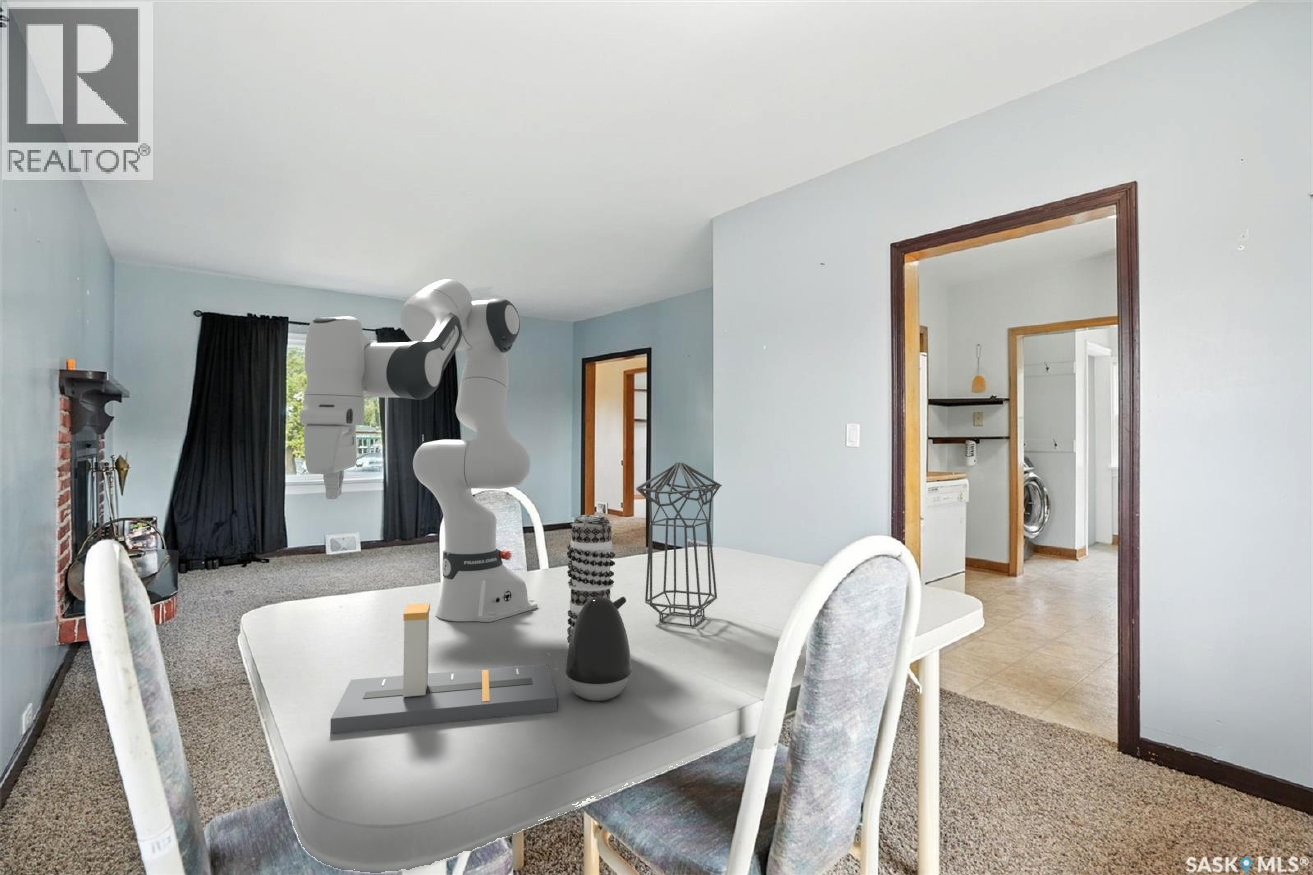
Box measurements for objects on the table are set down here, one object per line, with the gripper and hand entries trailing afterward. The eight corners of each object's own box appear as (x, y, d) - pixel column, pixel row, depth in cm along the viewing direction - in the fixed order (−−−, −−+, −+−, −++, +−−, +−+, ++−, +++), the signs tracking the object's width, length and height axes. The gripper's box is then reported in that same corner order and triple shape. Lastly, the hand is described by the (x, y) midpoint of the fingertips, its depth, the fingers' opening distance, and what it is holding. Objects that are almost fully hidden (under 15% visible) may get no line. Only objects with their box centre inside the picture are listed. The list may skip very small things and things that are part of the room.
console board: (330, 733, 84) (330, 717, 85) (350, 692, 98) (351, 678, 98) (556, 711, 93) (556, 696, 93) (546, 676, 106) (547, 663, 106)
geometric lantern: (701, 635, 130) (699, 464, 130) (633, 625, 137) (631, 463, 136) (727, 615, 144) (725, 461, 144) (664, 607, 151) (662, 460, 151)
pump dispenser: (645, 694, 99) (646, 597, 99) (593, 714, 92) (594, 609, 92) (603, 676, 106) (605, 585, 106) (552, 693, 99) (553, 596, 99)
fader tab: (402, 697, 91) (403, 613, 91) (406, 683, 96) (407, 604, 96) (425, 695, 92) (427, 612, 92) (428, 681, 97) (429, 603, 97)
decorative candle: (555, 646, 121) (557, 515, 121) (592, 636, 127) (595, 512, 127) (585, 659, 114) (587, 520, 114) (623, 647, 121) (625, 516, 121)
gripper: (327, 415, 113) (326, 492, 113) (296, 412, 94) (295, 505, 94) (366, 415, 115) (365, 492, 115) (343, 413, 95) (342, 505, 95)
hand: (333, 498), depth 104 cm, fingers closed
